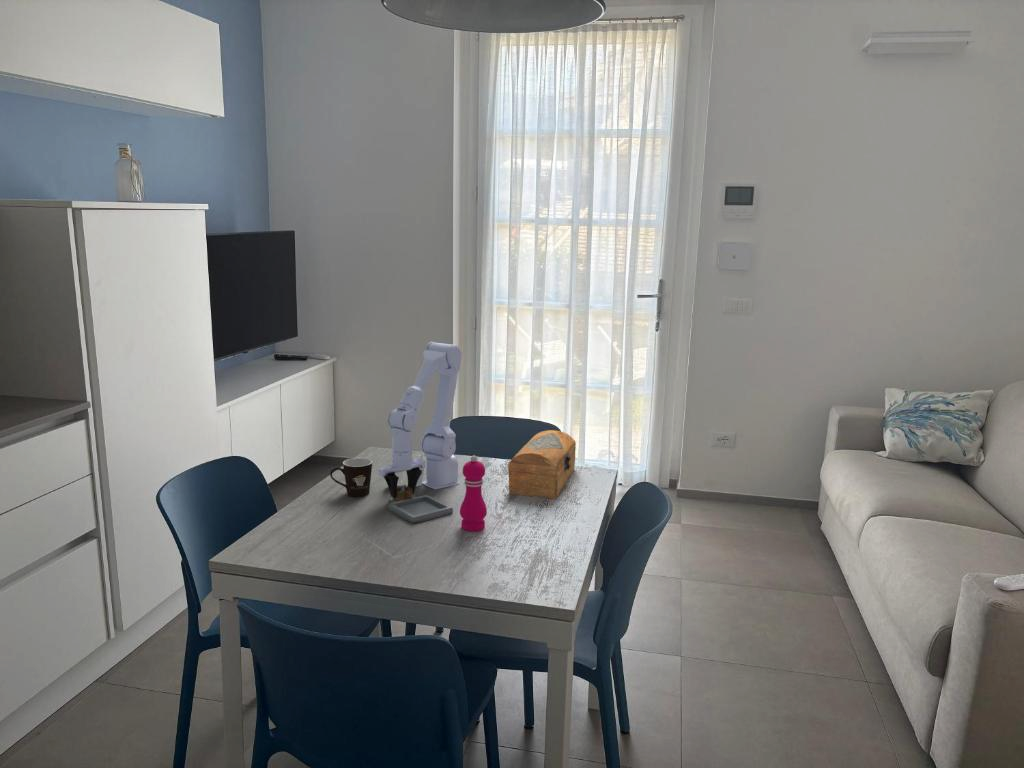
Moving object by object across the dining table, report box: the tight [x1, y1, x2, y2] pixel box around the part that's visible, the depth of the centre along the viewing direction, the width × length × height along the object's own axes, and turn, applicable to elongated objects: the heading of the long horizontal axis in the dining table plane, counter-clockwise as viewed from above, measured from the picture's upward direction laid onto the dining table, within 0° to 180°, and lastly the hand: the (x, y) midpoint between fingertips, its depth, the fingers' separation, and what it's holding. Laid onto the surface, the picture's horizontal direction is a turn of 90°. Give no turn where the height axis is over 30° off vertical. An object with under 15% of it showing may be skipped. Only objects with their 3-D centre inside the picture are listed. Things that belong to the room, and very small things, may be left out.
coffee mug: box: [329, 457, 373, 498], centre depth 234 cm, size 12×9×10 cm
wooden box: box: [507, 429, 577, 500], centre depth 249 cm, size 30×16×14 cm, turn 164°
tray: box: [387, 494, 454, 525], centre depth 222 cm, size 13×13×2 cm
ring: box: [393, 485, 413, 502], centre depth 231 cm, size 5×8×3 cm
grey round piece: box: [388, 483, 416, 503], centre depth 230 cm, size 8×8×5 cm
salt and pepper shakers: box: [386, 453, 425, 487], centre depth 241 cm, size 12×4×11 cm, turn 115°
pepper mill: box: [459, 455, 488, 532], centre depth 210 cm, size 7×7×20 cm
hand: (402, 494), depth 231 cm, fingers closed on ring, 5 cm apart
